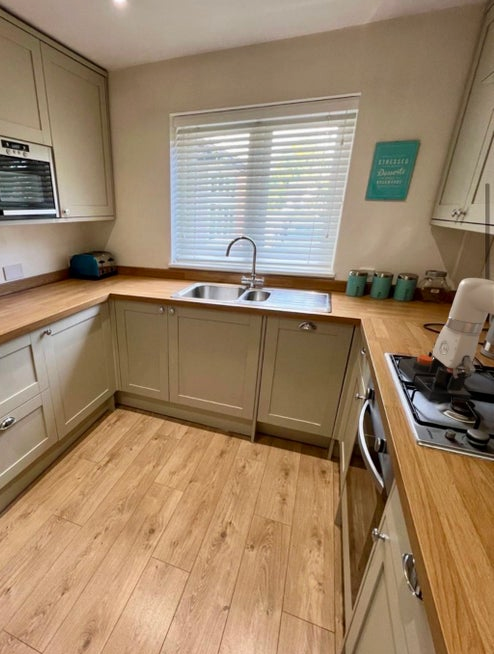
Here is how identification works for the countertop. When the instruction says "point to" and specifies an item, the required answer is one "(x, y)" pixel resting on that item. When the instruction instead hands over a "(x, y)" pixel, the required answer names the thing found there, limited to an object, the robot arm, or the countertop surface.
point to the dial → (443, 376)
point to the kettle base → (415, 368)
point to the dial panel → (437, 390)
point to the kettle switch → (424, 359)
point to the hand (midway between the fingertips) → (443, 380)
